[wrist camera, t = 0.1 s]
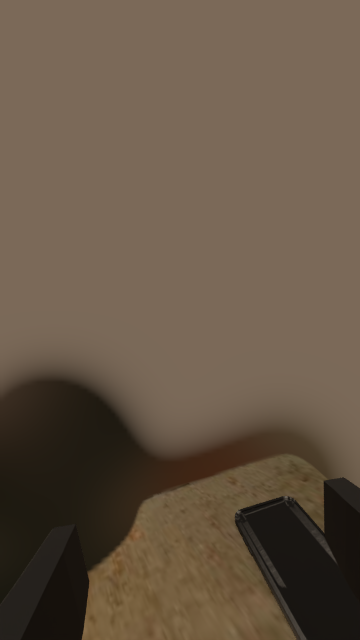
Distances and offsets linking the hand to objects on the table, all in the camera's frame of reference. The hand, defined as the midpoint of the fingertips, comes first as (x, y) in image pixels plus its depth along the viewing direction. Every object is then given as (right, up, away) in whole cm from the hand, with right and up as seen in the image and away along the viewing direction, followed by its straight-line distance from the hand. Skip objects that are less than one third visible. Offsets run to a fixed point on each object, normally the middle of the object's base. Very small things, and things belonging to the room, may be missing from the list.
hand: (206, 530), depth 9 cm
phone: (+11, -18, +21) cm, 30 cm away
